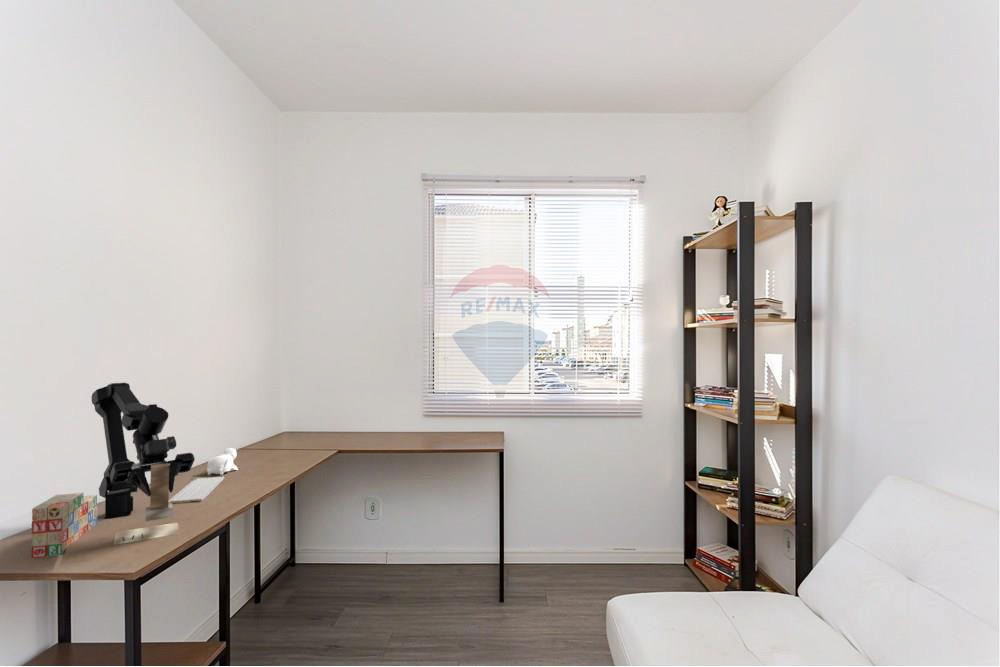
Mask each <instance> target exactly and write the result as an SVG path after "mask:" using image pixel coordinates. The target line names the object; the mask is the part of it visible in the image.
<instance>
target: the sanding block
mask: <svg viewBox="0 0 1000 667" xmlns="http://www.w3.org/2000/svg"><path fill="white" fill-rule="evenodd" d="M150 492H151V495H150V496H149V497H150V499H149V500H150V503H149V506H148V505H147V506H145V522H150V521H157V520H164V519H170V518H173V517H174V506H173V505H174V504H172V503H169V500H170V496H169V495H170V494H169V493H170V491H169V463H166V464H156V465H151V471H150Z"/></svg>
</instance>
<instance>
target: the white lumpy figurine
mask: <svg viewBox="0 0 1000 667" xmlns="http://www.w3.org/2000/svg"><path fill="white" fill-rule="evenodd" d="M237 456H238V452H237V450H236V448H234V447H228V448H225V449H224V450H223V452H222V454H220V455H217V456H214V457H212V458H210V459H209V460H208V462H207V466H206V472H207V474H208V475H209V474H210V475H213V474H215V475H219V476H221V475H223V474H224V473H226V472H231V470H233V471H234V470H237V471H238V470H239V468H238V467H237V465H236V464H234V460H235V459H236V458H237ZM208 475H207V476H208ZM223 476H224V475H223Z"/></svg>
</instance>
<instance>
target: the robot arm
mask: <svg viewBox="0 0 1000 667" xmlns="http://www.w3.org/2000/svg"><path fill="white" fill-rule="evenodd" d="M91 404H92V405H93V406H94V411H95V413H97V414H98V415H99V416H100V417H101V418H102V420H103V428H104V436H105V444H106V445H105V446H106V449H107V450H106V451H107V457H108V464H107V467H106V468H105V471H104V472H103V478H102V480H101V482H100V485H99V487H98V493H99V494H98V495H99V497H102V498H104V499H105V501H104V503H105V504H104V508H105V509H104V511H105V512H104V517H103V518H104V519H110V518H115V517H116V518H117V517H123V516H129V515H131V514H132V512H133V511H134V495H132V493H138V492H137V491H138V490H140V491H141V492H143V494H145V495H146V496H147V497H148V498H149V497H150V495H151V492H150V489H151V487H150V486H149V482H148V480H147V477H146V473H148V472H151V465H156V464H166V463H169V493H173V491H174V487H175V480H176V479H175V478H176V476H178V475H179V474H181V473H182V474H183V473H187V472H190V471H191V469H192V467H193V465H194V462H195V460H196V458H195V455H194V454H193V453H192V452H185V453H178V454H175V457H174V459H173V460H172V459H171V460H166V459H167V458H168V457H169V455H168V452H170V450H175V448H176V447H177V439H176V438H175V436H174V435H173V436H167V437H166V438H162V439H160V438H159V434H161V433H162V432H163V430H164V427H165V426H166V423H167V421H168V419H169V412H168V411H167V410H166V409H164V408H162V407H159V406H158V405H157V404H155V403H154V404H148V405H147V404H143V403H141V402H140V401H139V399H138V398H137V397H136V395H135V394H134V391H132V390H131V388H130V384H129V383H128V382H114V383H113V382H111V383H109V384H107V385H106V386H104V387H100V388H97V389H96V390H95V391H94V392H92V394H91ZM122 414H123V415H122ZM124 428H125V430H126V431H134V432H133V433H132V439H133V440H132V444H134V447H135V450H136V454H137V455H136V459H137V461H138V463H135V461H132V460H130V459H129V458H128V455H127V454H128V453H127V448H126V447H127V446H126V440H125V433H124V432H125V431H124Z"/></svg>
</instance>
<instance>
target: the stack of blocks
mask: <svg viewBox="0 0 1000 667" xmlns="http://www.w3.org/2000/svg"><path fill="white" fill-rule="evenodd" d="M31 518H32V519H31V559H32V558H34V559H41V558H40V557H43V558H48V557H47V556H52V557H57V556H56V555H62V556H63V555H64V554H65V553H66V551H67V548H68V547H69V546H70V545H72V544H73V543H75V542H76V541H77V540H79V538H80V537H81V536H83V535H84V534H85V533H86V532H88V531H90V530H91V529H92V528H93V527H94V526H96V525H97V524H98V496H97V494H92V495H84V492H75V493H64V494H63V493H62V494H55V495H52V496H51V497H50V498H48V499H47V500H45V501H43V502H41V503H40V504H38V505H36V506H34V507H32V509H31Z"/></svg>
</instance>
